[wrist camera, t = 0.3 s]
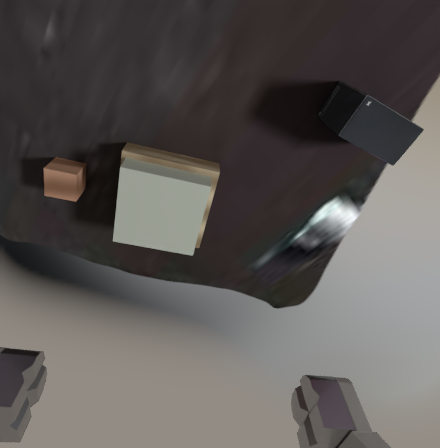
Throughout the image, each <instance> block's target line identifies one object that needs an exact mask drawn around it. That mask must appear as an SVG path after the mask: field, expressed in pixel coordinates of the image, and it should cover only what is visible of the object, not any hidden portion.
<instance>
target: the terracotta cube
mask: <svg viewBox="0 0 440 448" xmlns="http://www.w3.org/2000/svg"><path fill="white" fill-rule="evenodd" d="M85 185H86V163H81V162H77V161H72V160H67V159H63V158H58V157H56V158H54V159H53V160H52V161H51V162H50V163H49V164H48V165H47V166H45V167H44V191H45V196H50V197H55V198H60V199H65V200H70V201H75V202H76V201H77V200H78V198H79V197H80V195H81V194H82V193H83V191H84V190H85Z"/></svg>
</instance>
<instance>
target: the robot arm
mask: <svg viewBox="0 0 440 448" xmlns="http://www.w3.org/2000/svg"><path fill="white" fill-rule="evenodd" d="M44 360H45V356H44V352H42V351H31V350H20V349H10V348H2V347H0V442H20V441H21V439H22V437H23V435H24V432H25V430H26V428H27V426H28V423H29V421H30V419H31V412H30V407H32V406H33V405H34V404H35V403H37V402H38V401H39V399H40V396H41V394H42V391H43V389H44V385H45V382H46V375H47V371H46V367H45V366H43V365H42V364H43V362H44ZM300 383H301V386H299V387H297V388H295V390H294V392H293V394H292V402H291V404H292V413H293V417H294V419H295V420H296V422H297V423H298V424H299V426H300V427H299V430H298V432H297V435H298V439H299V444H300V448H391V447H390V446H389V445H388V444H387V443H386V442H385V441H384V440H383V439H382V438H381V437H380V436H379V434H378V433H377V432H372V430H371V428H370V425H369V423H368V420H367V418H366V416H365V413H364V411H363V408H362V406H361V404H360V401H359V399H358V397H357V394H356V392H355V389H354V387H353V385H352V382H351V381H350V380H349V379H346V378H335V377H327V376H313V375H304V376H302V378H301V380H300Z"/></svg>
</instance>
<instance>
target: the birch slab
mask: <svg viewBox="0 0 440 448" xmlns="http://www.w3.org/2000/svg"><path fill="white" fill-rule="evenodd" d="M126 157H127V158H131V159H135V160H140V161H144V162H149V163H153V164H158V165H162V166H167V167H171V168H175V169H180V170H184V171H189V172H193V173H198V174H202V175H207V176H211V190H210V194H209V197H208V201H207V205H206V208H205V212H204V216H203V219H202V223H201V227H200V231H199V234H198V238H197V242H196V245H195V247H197V248H199V247H200V243H201V239H202V236H203V232H204V229H205V225H206V221H207V218H208V214H209V210H210V207H211V203H212V199H213V196H214V192H215V189H216V185H217V181H218V178H219V174H220V168H219V163H215V162H211V161H206V160H202V159H198V158H193V157H189V156H184V155H180V154H176V153H171V152H167V151H163V150H158V149H154V148H150V147H145V146H141V145H136V144H132V143H128V142H127V144H126V145H125V147H124V148H123V150H122V155H121V165H122V163H123V161H124V160H125V158H126ZM121 165H120V166H121Z"/></svg>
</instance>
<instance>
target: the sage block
mask: <svg viewBox="0 0 440 448" xmlns="http://www.w3.org/2000/svg"><path fill="white" fill-rule="evenodd" d="M210 190H211V176H207V175H202V174H198V173H193V172H189V171H184V170H180V169H175V168H171V167H167V166H162V165H158V164H153V163H149V162H144V161H140V160H135V159H131V158H127V157H126V158H125V160H124V161H123V163H122V165H121V166H120V174H119V184H118V194H117V205H116V215H115V225H114V235H113V241H114V242H119V243H125V244H131V245H136V246H142V247H147V248H153V249H159V250H164V251H170V252H175V253H181V254H186V255H192V256H193V253H194V249H195V245H196V242H197V238H198V234H199V231H200V227H201V223H202V219H203V216H204V212H205V208H206V205H207V201H208V197H209V194H210Z"/></svg>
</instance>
